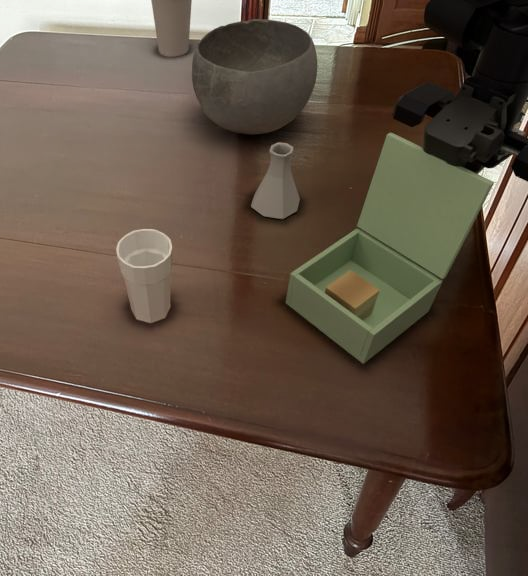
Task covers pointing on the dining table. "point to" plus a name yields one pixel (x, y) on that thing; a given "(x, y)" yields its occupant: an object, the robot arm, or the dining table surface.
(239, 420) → the dining table surface
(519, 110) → the robot arm
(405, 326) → the file box
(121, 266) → the cup
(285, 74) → the bowl
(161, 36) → the coffee cup
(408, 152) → the lid
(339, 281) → the block
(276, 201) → the flask
